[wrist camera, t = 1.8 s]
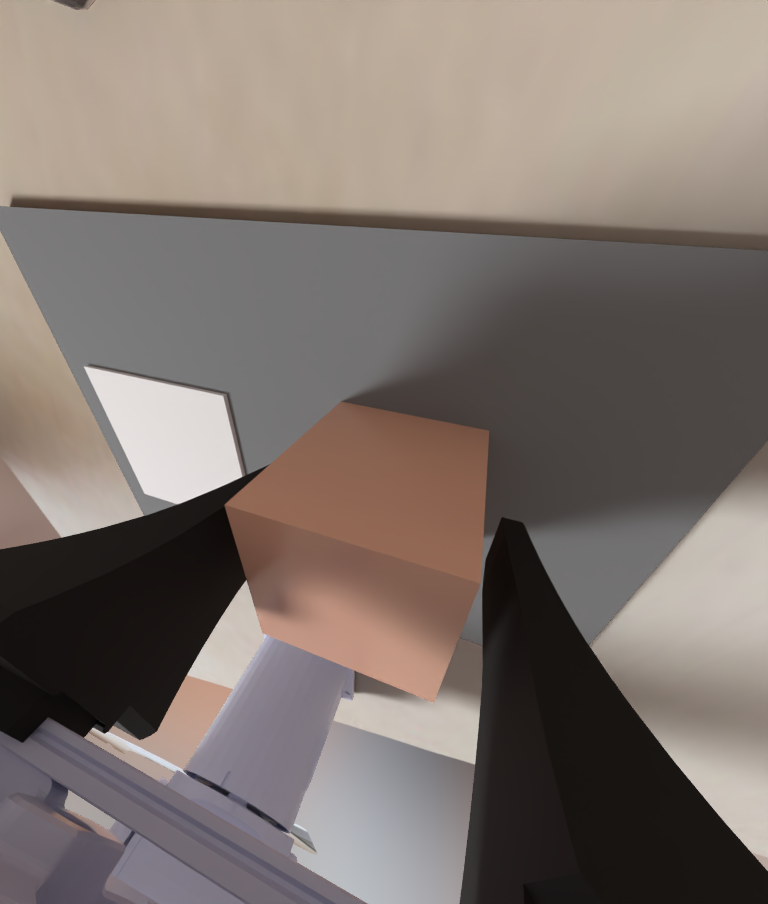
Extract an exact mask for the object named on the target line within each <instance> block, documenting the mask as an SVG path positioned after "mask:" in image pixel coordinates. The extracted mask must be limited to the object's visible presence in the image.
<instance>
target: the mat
mask: <svg viewBox="0 0 768 904" xmlns="http://www.w3.org/2000/svg"><path fill="white" fill-rule="evenodd" d="M0 231H1V233H2V235H3V237H4V239H5V241H6V243H7V245H8V247H9V249H10V251H11V253H12V255H13V257H14V259H15V261H16V263H17V265H18V267H19V269H20V271H21V273H22V275H23V277H24V279H25V281H26V283H27V285H28V287H29V289H30V291H31V292H32V294H33V296H34V298H35V300H36V302H37V304H38V306H39V308H40V310H41V312H42V314H43V316H44V318H45V320H46V322H47V324H48V326H49V328H50V330H51V332H52V334H53V336H54V338H55V340H56V342H57V344H58V346H59V348H60V350H61V352H62V354H63V356H64V358H65V360H66V362H67V364H68V366H69V368H70V370H71V372H72V374H73V376H74V378H75V380H76V382H77V384H78V386H79V388H80V390H81V392H82V394H83V396H84V397H85V399H86V401H87V403H88V405H89V407H90V409H91V411H92V413H93V415H94V417H95V419H96V421H97V423H98V425H99V427H100V429H101V431H102V433H103V435H104V437H105V439H106V441H107V443H108V445H109V447H110V449H111V451H112V453H113V455H114V457H115V459H116V461H117V463H118V465H119V467H120V469H121V471H122V473H123V475H124V477H125V479H126V481H127V483H128V485H129V487H130V489H131V491H132V493H133V495H134V497H135V499H136V500H137V502H138V504H139V506H140V508H141V510H142V512H143V514H144V516H145V515H149V514H152V513H155V512H157V511H160V510H163V509H166V508H169V507H172V506H175V505H177V504H180V503H183V502H185V501H188V500H190V499H193V498H195V497H197V496H200V495H202V494H205V493H207V492H209V491H212V490H214V489H217V488H219V487H221V486H223V485H226V484H228V483H230V482H232V481H234V480H237V479H239V478H241V477H243V476H245V475H248V474H250V473H252V472H254V471H256V470H258V469H260V468H263V467H265V466H267V465H269V464H271V463H272V462H273V461H274V460H276V459H277V458H278V457H279V456H280V455H281V454H282V453H283V452H285V451H286V450H287V449H288V448H289V447H290V446H291V445H292V444H294V443H295V442H296V441H297V440H298V439H299V438H300V437H301V436H303V435H304V434H305V433H306V432H307V431H308V430H309V429H311V428H312V427H313V426H314V425H315V424H316V423H317V422H318V421H320V420H321V419H322V418H323V417H324V416H325V415H326V414H327V413H329V412H330V411H331V410H332V409H333V408H334V407H335V406H336V405H338V404H339V403H340V402H346V403H351V404H356V405H361V406H366V407H371V408H376V409H382V410H387V411H392V412H397V413H402V414H407V415H412V416H417V417H422V418H427V419H432V420H437V421H443V422H448V423H453V424H458V425H463V426H468V427H473V428H478V429H483V430H488V431H489V445H488V463H487V481H486V499H485V517H484V535H483V552H482V570H481V584H480V587H479V589H478V592H477V594H476V597H475V599H474V602H473V604H472V607H471V610H470V612H469V615H468V617H467V620H466V622H465V625H464V627H463V630H462V632H461V635H460V637H459V638H461V639H464V640H467V641H470V642H473V643H476V644H478V645H481V646H483V643H482V587H483V577H484V568H485V560H486V557H487V554H488V552H489V549H490V547H491V544H492V541H493V539H494V536H495V533H496V531H497V528H498V526H499V523H500V520H501V518H502V517H504V518H508V519H512V520H516V521H520V522H523V523H524V525H525V527H526V529H527V531H528V534H529V536H530V538H531V540H532V543H533V545H534V547H535V549H536V551H537V553H538V555H539V558H540V560H541V562H542V564H543V566H544V568H545V570H546V572H547V574H548V576H549V577H550V579H551V581H552V583H553V585H554V587H555V589H556V591H557V593H558V594H559V596H560V598H561V600H562V602H563V603H564V605H565V607H566V609H567V610H568V612H569V614H570V615H571V617H572V619H573V620H574V622H575V624H576V626H577V627H578V629H579V630H580V632H581V634H582V635H583V637H584V638H585V640H586V642H587V643H588V645H589V644H590V643H591V642H592V641H593V639H594V638H595V637H596V636H597V635H598V634H599V633H600V631H601V630H602V629H603V628H604V627H605V626H606V625H607V623H608V622H609V621H610V620H611V619H612V618H613V617H614V615H615V614H616V613H617V612H618V611H619V610H620V609H621V607H622V606H623V605H624V604H625V603H626V602H627V601H628V600H629V598H630V597H631V596H632V595H633V594H634V593H635V592H636V590H637V589H638V588H639V587H640V586H641V585H642V584H643V582H644V581H645V580H646V579H647V578H648V577H649V576H650V574H651V573H652V572H653V571H654V570H655V569H656V568H657V566H658V565H659V564H660V563H661V562H662V561H663V560H664V558H665V557H666V556H667V555H668V554H669V553H670V552H671V550H672V549H673V548H674V547H675V546H676V545H677V544H678V542H679V541H680V540H681V539H682V538H683V537H684V536H685V534H686V533H687V532H688V531H689V530H690V529H691V528H692V526H693V525H694V524H695V523H696V522H697V521H698V520H699V518H700V517H701V516H702V515H703V514H704V513H705V512H706V510H707V509H708V508H709V507H710V506H711V505H712V504H713V502H714V501H715V500H716V499H717V498H718V497H719V496H720V494H721V493H722V492H723V491H724V490H725V489H726V488H727V486H728V485H729V484H730V483H731V482H732V481H733V480H734V478H735V477H736V476H737V475H738V474H739V473H740V472H741V470H742V469H743V468H744V467H745V466H746V465H747V464H748V462H749V461H750V460H751V459H752V458H753V457H754V456H755V454H756V453H757V452H758V451H759V450H760V449H761V448H762V446H763V445H764V444H765V443H766V442H767V441H768V251H767V250H750V249H732V248H715V247H698V246H680V245H663V244H646V243H628V242H611V241H594V240H576V239H559V238H542V237H524V236H507V235H490V234H472V233H455V232H438V231H421V230H403V229H386V228H369V227H351V226H334V225H317V224H299V223H282V222H265V221H247V220H230V219H213V218H195V217H178V216H161V215H143V214H126V213H109V212H92V211H74V210H57V209H40V208H22V207H5V206H0Z"/></svg>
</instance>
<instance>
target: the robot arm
mask: <svg viewBox="0 0 768 904" xmlns="http://www.w3.org/2000/svg"><path fill="white" fill-rule="evenodd" d="M269 465H270V464H269ZM269 465H267V466H265V467H263V468H260V469H258V470H256V471H254V472H252V473H250V474H248V475H245V476H243V477H241V478H239V479H237V480H234V481H232V482H230V483H228V484H226V485H223V486H221V487H219V488H217V489H214V490H212V491H209V492H207V493H205V494H202V495H200V496H197V497H195V498H193V499H190V500H188V501H185V502H183V503H180V504H177V505H175V506H172V507H169V508H166V509H163V510H160V511H157V512H155V513H152V514H149V515H145V516H142V517H139V518H136V519H132V520H129V521H125V522H122V523H118V524H115V525H111V526H108V527H104V528H100V529H97V530H92V531H88V532H84V533H80V534H76V535H72V536H67V537H63V538H58V539H54V540H49V541H44V542H39V543H34V544H28V545H23V546H18V547H12V548H6V549H1V550H0V904H367V903H365V902H364V901H362V900H360V899H359V898H357V897H355V896H353V895H351V894H350V893H348V892H346V891H345V890H343V889H341V888H340V887H338V886H336V885H335V884H333V883H331V882H329V881H328V880H326V879H324V878H323V877H321V876H319V875H317V874H316V873H314V872H312V871H311V870H309V869H307V868H305V867H304V866H302V865H300V864H299V863H297V857H296V856H295V855H294V854H293V853H291V852H290V851H291V848H292V845H293V843H294V839H293V838H291V837H289V836H288V835H286V834H285V833H290V832H291V830H292V827H293V824H294V821H295V819H296V816H297V813H298V811H299V808H300V805H301V802H302V799H303V796H304V794H305V791H306V790H307V788H308V786H309V784H310V782H311V779H312V777H313V774H314V771H315V768H316V766H317V763H318V760H319V757H320V755H321V751H322V749H323V746H324V744H325V741H326V738H327V735H328V733H329V730H330V727H331V724H332V722H333V719H334V716H335V713H336V710H337V708H338V705H339V702H340V699H341V697H342V698H344V699H347V700H350V701H351V700H353V697H354V680H355V671H354V670H352V669H349V668H347V667H344V666H342V665H339V664H337V663H335V662H332V661H330V660H327V659H325V658H322V657H320V656H317V655H315V654H312V653H310V652H307V651H305V650H302V649H300V648H298V647H295V646H293V645H290V644H288V643H285V642H283V641H280V640H278V639H275V638H273V637H270V636H268V635H265V634H263V635H264V641H263V642H262V644H261V645H260V647H259V649H258V650H257V652H256V653H255V655H254V657H253V658H252V660H251V662H250V663H249V665H248V666H247V668H246V670H245V671H244V673H243V674H242V676H241V678H240V679H239V681H238V682H237V684H236V686H235V687H234V689H233V691H232V692H231V694H230V695H229V697H228V699H227V700H226V702H225V703H224V705H223V707H222V708H221V710H220V712H219V713H218V715H217V716H216V718H215V720H214V721H213V723H212V724H211V726H210V728H209V729H208V731H207V732H206V734H205V736H204V737H203V739H202V740H201V742H200V744H199V745H198V747H197V748H196V750H195V752H194V753H193V755H192V757H191V758H190V760H189V761H188V763H187V765H186V766H185V768H184V769H183V771H184V772H185V773H186V774H187V775H188V776H187V775H185V774H183V773H182V772H180V771H178V770H177V771H176V772H175V774H174V776H173V777H172V779H171V780H168V779H167V778H161V779H159V780H155V779H153V778H152V777H150V776H148V775H146V774H145V773H143V772H141V771H140V770H138V769H136V768H134V767H133V766H131V765H129V764H128V763H126V762H124V761H122V760H121V759H119V758H117V757H116V756H114V755H112V754H110V753H109V752H107V751H105V750H104V749H102V748H100V747H98V746H97V745H95V744H93V743H92V742H90V741H88V740H86V739H85V738H84V737H85V736H86V735H87V734H88V732H89V731H90V730H91V729H92V728H93V727H94V728H95V729H97V730H99V731H101V732H102V733H104V734H105V733H107V732H108V731H109V730H110V729H111V727H112V726H116V727H117V728H119V729H121V730H123V731H124V732H126V733H128V734H130V735H131V736H133V737H135V738H137V739H139V740H141V739H144V738H146V737H148V736H151V735H152V734H154V733H155V732H156V731H157V730H158V728H159V726H160V724H161V722H162V720H163V718H164V716H165V714H166V712H167V711H168V708H169V707H170V705H171V703H172V701H173V699H174V697H175V695H176V693H177V692H178V690H179V688H180V686H181V684H182V682H183V681H184V679H185V677H186V675H187V674H188V672H189V670H190V668H191V667H192V665H193V663H194V661H195V660H196V658H197V656H198V654H199V653H200V651H201V649H202V647H203V646H204V644H205V642H206V641H207V639H208V638H209V636H210V634H211V633H212V631H213V629H214V628H215V626H216V624H217V623H218V621H219V620H220V618H221V616H222V615H223V613H224V612H225V610H226V609H227V607H228V606H229V604H230V603H231V601H232V599H233V598H234V596H235V595H236V593H237V592H238V590H239V589H240V588H241V586H242V585H243V584H244V582H245V581H246V580H247V579H246V576H245V572H244V569H243V566H242V562H241V559H240V556H239V552H238V549H237V546H236V542H235V539H234V536H233V532H232V529H231V526H230V522H229V519H228V515H227V512H226V509H225V504H226V503H227V502H228V501H229V500H230V499H231V498H233V497H234V496H235V495H236V494H237V493H238V492H239V491H241V490H242V489H243V488H244V487H245V486H246V485H247V484H248V483H250V482H251V481H252V480H253V479H254V478H255V477H256V476H257V475H259V474H260V473H261V472H262V471H263V470H264V469H265V468H266V467H268V466H269ZM482 643H483V675H482V694H481V706H480V719H479V730H478V741H477V752H476V763H475V774H474V783H473V793H472V803H471V813H470V822H469V830H468V840H467V848H466V856H465V865H464V873H463V882H462V890H461V898H460V904H768V871H767V870H766V869H765V868H764V867H763V866H762V864H761V863H760V862H759V861H758V860H757V859H756V857H755V856H754V855H753V854H752V853H751V852H750V851H749V850H748V848H747V847H746V846H745V845H744V844H743V843H742V842H741V840H740V839H739V838H738V837H737V836H736V835H735V834H734V833H733V831H732V830H731V829H730V828H729V827H728V826H727V825H726V823H725V822H724V821H723V820H722V819H721V818H720V816H719V815H718V814H717V813H716V812H715V810H714V809H713V808H712V807H711V806H710V804H709V803H708V802H707V801H706V800H705V798H704V797H703V796H702V795H701V794H700V792H699V791H698V790H697V789H696V787H695V786H694V785H693V784H692V783H691V781H690V780H689V779H688V778H687V777H686V775H685V774H684V773H683V772H682V771H681V769H680V768H679V767H678V766H677V765H676V763H675V762H674V761H673V760H672V758H671V757H670V756H669V754H668V753H667V752H666V751H665V749H664V748H663V747H662V745H661V744H660V743H659V741H658V740H657V739H656V738H655V736H654V735H653V734H652V732H651V731H650V730H649V728H648V727H647V726H646V725H645V723H644V722H643V721H642V719H641V718H640V717H639V715H638V714H637V713H636V712H635V710H634V709H633V708H632V706H631V705H630V704H629V702H628V701H627V700H626V698H625V697H624V696H623V694H622V693H621V691H620V690H619V689H618V687H617V686H616V684H615V683H614V682H613V680H612V679H611V677H610V676H609V675H608V673H607V672H606V670H605V669H604V667H603V666H602V664H601V663H600V661H599V660H598V658H597V657H596V655H595V654H594V652H593V651H592V649H591V648H590V646H589V645H588V643H587V642H586V640H585V638H584V637H583V635H582V634H581V632H580V630H579V629H578V627H577V626H576V624H575V622H574V620H573V619H572V617H571V615H570V614H569V612H568V610H567V609H566V607H565V605H564V603H563V602H562V600H561V598H560V596H559V594H558V593H557V591H556V589H555V587H554V585H553V583H552V581H551V579H550V577H549V576H548V574H547V572H546V570H545V568H544V566H543V564H542V562H541V560H540V558H539V555H538V553H537V551H536V549H535V547H534V545H533V543H532V540H531V538H530V536H529V534H528V531H527V529H526V527H525V525H524V523H523V522H520V521H516V520H512V519H508V518H504V517H502V518H501V520H500V523H499V526H498V528H497V531H496V533H495V536H494V539H493V541H492V544H491V547H490V549H489V552H488V554H487V557H486V560H485V568H484V577H483V587H482ZM190 777H191V778H190ZM68 789H69V790H70V791H72V792H73V793H75V794H76V795H78V796H79V797H81V798H82V799H84V800H86V801H87V802H89V803H90V804H92V805H93V806H95V807H97V808H98V809H100V810H101V811H103V812H104V813H106V814H107V815H109V816H111V817H112V818H114V819H115V820H116V822H115V823H114V824H113V826H112V827H111V828H110V830H109V831H108V830H107V829H105V828H104V827H102V826H100V825H99V824H97V823H95V822H93V821H91V820H89V819H87V818H85V817H82V816H81V815H78V814H76V813H74V812H72V811H69V810H67V809H65V807H64V804H65V800H66V798H67V795H68ZM281 831H283V832H285V833H283V832H281Z"/></svg>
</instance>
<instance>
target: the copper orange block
mask: <svg viewBox="0 0 768 904" xmlns="http://www.w3.org/2000/svg"><path fill="white" fill-rule="evenodd" d="M488 445H489V431H488V430H483V429H478V428H473V427H468V426H463V425H458V424H453V423H448V422H443V421H437V420H432V419H427V418H422V417H417V416H412V415H407V414H402V413H397V412H392V411H387V410H382V409H376V408H371V407H366V406H361V405H356V404H351V403H346V402H340V403H339V404H338V405H336V406H335V407H334V408H333V409H332V410H331V411H330V412H329V413H327V414H326V415H325V416H324V417H323V418H322V419H321V420H320V421H318V422H317V423H316V424H315V425H314V426H313V427H312V428H311V429H309V430H308V431H307V432H306V433H305V434H304V435H303V436H301V437H300V438H299V439H298V440H297V441H296V442H295V443H294V444H292V445H291V446H290V447H289V448H288V449H287V450H286V451H285V452H283V453H282V454H281V455H280V456H279V457H278V458H277V459H276V460H274V461H273V462H272V463H271V464H270V465H269V466H268V467H266V468H265V469H264V470H263V471H262V472H261V473H260V474H259V475H257V476H256V477H255V478H254V479H253V480H252V481H251V482H250V483H248V484H247V485H246V486H245V487H244V488H243V489H242V490H241V491H239V492H238V493H237V494H236V495H235V496H234V497H233V498H231V499H230V500H229V501H228V502H227V503H226V504H225V509H226V512H227V515H228V519H229V522H230V526H231V529H232V532H233V536H234V539H235V542H236V546H237V549H238V552H239V556H240V559H241V562H242V566H243V569H244V572H245V576H246V579H247V582H248V586H249V589H250V593H251V596H252V599H253V603H254V606H255V609H256V613H257V616H258V619H259V623H260V626H261V629H262V633H263V634H265V635H268V636H270V637H273V638H275V639H278V640H280V641H283V642H285V643H288V644H290V645H293V646H295V647H298V648H300V649H302V650H305V651H307V652H310V653H312V654H315V655H317V656H320V657H322V658H325V659H327V660H330V661H332V662H335V663H337V664H339V665H342V666H344V667H347V668H349V669H352V670H354V671H357V672H359V673H362V674H364V675H367V676H369V677H372V678H374V679H376V680H379V681H381V682H384V683H386V684H389V685H391V686H394V687H396V688H399V689H401V690H404V691H406V692H409V693H411V694H414V695H416V696H418V697H421V698H423V699H426V700H428V701H431V702H433V703H434V701H435V698H436V696H437V693H438V691H439V688H440V686H441V683H442V681H443V678H444V675H445V673H446V670H447V668H448V665H449V663H450V660H451V658H452V655H453V653H454V650H455V648H456V645H457V643H458V640H459V637H460V635H461V632H462V630H463V627H464V625H465V622H466V620H467V617H468V615H469V612H470V610H471V607H472V604H473V602H474V599H475V597H476V594H477V592H478V589H479V587H480V584H481V570H482V552H483V535H484V517H485V499H486V481H487V463H488Z"/></svg>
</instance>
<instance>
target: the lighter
mask: <svg viewBox="0 0 768 904" xmlns="http://www.w3.org/2000/svg"><path fill="white" fill-rule="evenodd" d="M52 1H55V2H57V3H60V4H63V5H65V6H68V7H70V8H73V9H76V10H84V9H88V8H89V7H90V5H91V4H92V3H93V2H94V1H95V0H52Z"/></svg>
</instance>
